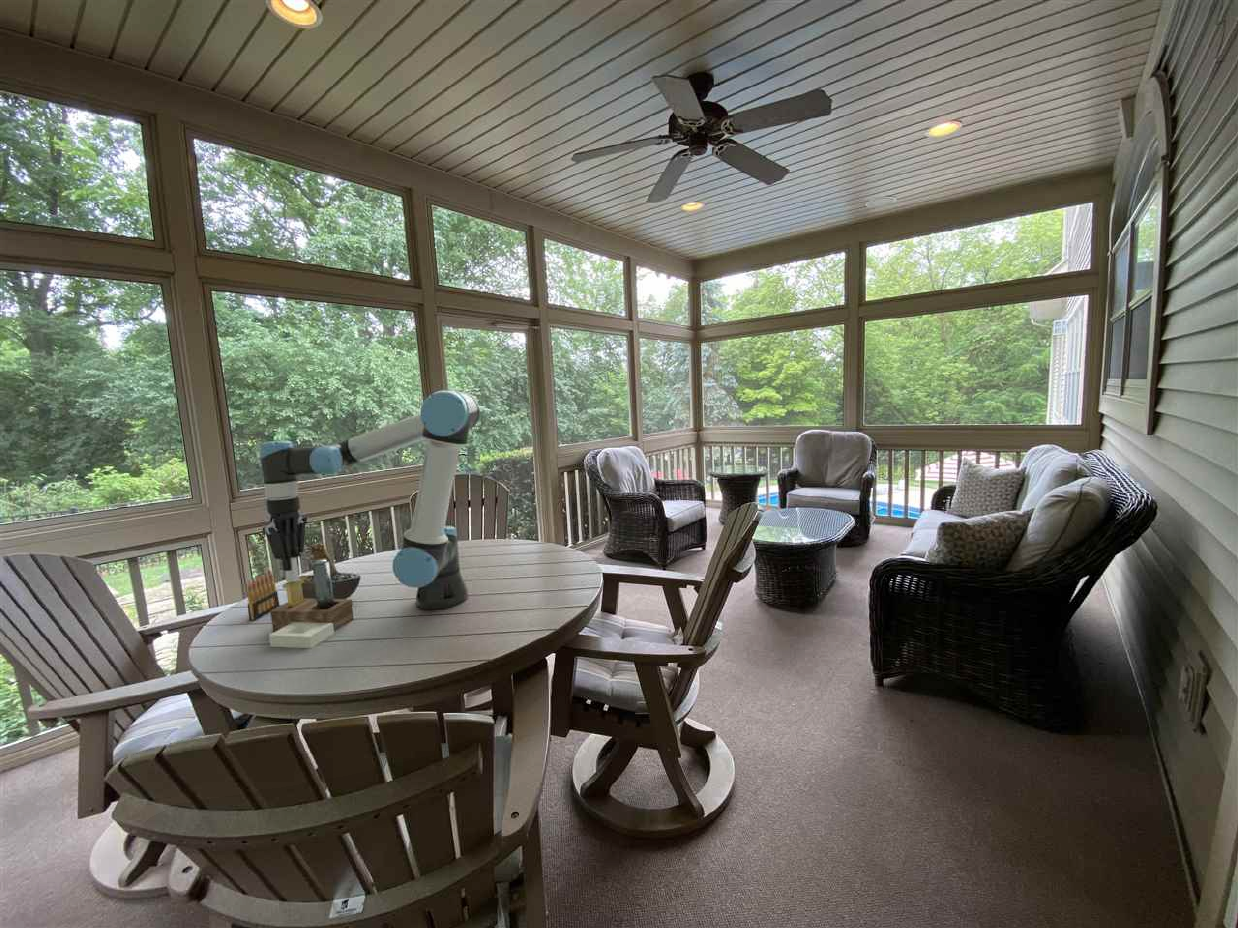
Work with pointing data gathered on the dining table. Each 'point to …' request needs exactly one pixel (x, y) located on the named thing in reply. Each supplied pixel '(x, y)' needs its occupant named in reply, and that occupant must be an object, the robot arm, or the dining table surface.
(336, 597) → the planter
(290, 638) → the block
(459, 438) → the robot arm
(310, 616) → the socket block
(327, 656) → the dining table surface
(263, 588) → the ammunition clip
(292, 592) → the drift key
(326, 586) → the grey metal cylinder
